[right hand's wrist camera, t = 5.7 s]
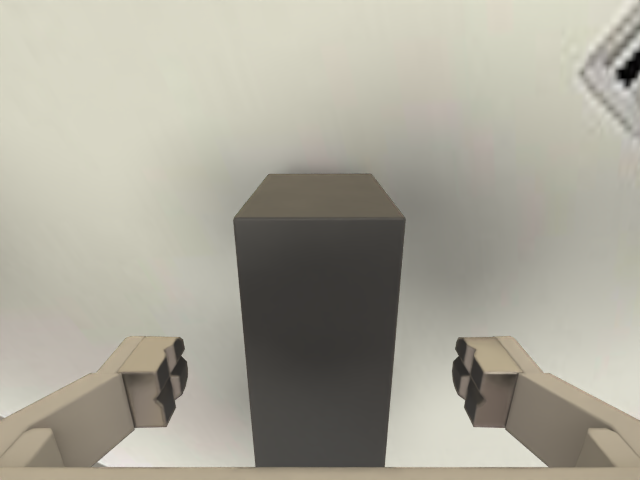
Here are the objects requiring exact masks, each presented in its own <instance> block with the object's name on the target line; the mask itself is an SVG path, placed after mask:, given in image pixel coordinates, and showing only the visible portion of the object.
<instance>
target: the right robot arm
mask: <svg viewBox="0 0 640 480" xmlns="http://www.w3.org/2000/svg"><path fill="white" fill-rule="evenodd" d="M184 350H185V348H184V343H183V339H182V338H180V337H156V336H147V337H146V336H130V337H127V338H126V339H125V340H124V341H123V342H122V343H121V344H120V345H119V347H118V348H117V349H116V350H115V351H114V353H113V354H112V355H111V356H110V357H109V358H108V360H107V361H106V362H105V363H104V364H103V365H102V367H101V368H100V369H99V370H98V371H97V373H90V374H88V375H86V376H84V377H82V378H80V379H78V380H77V381H75V382H73V383H71V384H69V385H67V386H65V387H63V388H61V389H59V390H57V391H55V392H54V393H52V394H50V395H48V396H46V397H44V398H42V399H40V400H38V401H36V402H34V403H33V404H31V405H29V406H27V407H25V408H23V409H21V410H19V411H17V412H15V413H13V414H12V415H10V416H8V417H6V418H4V419H2V420H0V480H640V420H638V419H636V418H634V417H632V416H630V415H628V414H626V413H624V412H623V411H621V410H619V409H617V408H615V407H613V406H611V405H609V404H607V403H605V402H603V401H602V400H600V399H598V398H596V397H594V396H592V395H590V394H588V393H586V392H584V391H583V390H581V389H579V388H577V387H575V386H573V385H571V384H569V383H567V382H565V381H563V380H562V379H560V378H558V377H556V376H554V375H552V374H550V373H543V371H542V370H541V369H540V368H539V367H538V365H537V364H536V363H535V362H534V361H533V360H532V358H531V357H530V356H529V355H528V354H527V353H526V351H525V350H524V349H523V348H522V347H521V346H520V344H519V343H518V342H517V341H516V340H515V338H513V337H511V336H495V337H459V338H458V340H457V342H456V347H455V350H456V351H457V353H458V355H459V356H458V357H457V358H456V359H455V360H454V361H453V367H452V376H453V383H454V386H455V389H456V391H457V394H458V395H459V396H460V397H462V398H463V399H464V400H465V405H464V408H465V410H466V412H467V414H468V416H469V418H470V420H471V423H472V425H473V427H493V428H505V430H507V431H508V432H509V433H510V434H511V435H512V436H514V437H515V438H516V439H517V440H518V441H519V442H520V443H522V444H523V445H524V446H525V447H526V448H527V449H529V450H530V451H531V452H532V453H533V454H534V455H535V456H537V457H538V458H539V459H540V460H541V461H542V462H544V463H545V464H546V465H547V466H548V467H92V466H93V465H94V464H95V463H97V462H98V461H99V460H100V459H101V458H102V457H103V456H105V455H106V454H107V453H108V452H109V451H110V450H112V449H113V448H114V447H115V446H116V445H117V444H119V443H120V442H121V441H122V440H123V439H124V438H125V437H127V436H128V435H129V434H130V433H131V432H132V431H134V430H135V429H134V428H147V427H167V425H168V423H169V421H170V418H171V416H172V414H173V412H174V410H175V408H176V405H175V400H176V399H177V398H178V397H180V396H181V395H182V394H183V391H184V389H185V387H186V382H187V378H188V367H187V361H186V360H185V359H184V358H183V357H182V356H181V355H182V353H183V351H184Z"/></svg>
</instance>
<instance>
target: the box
mask: <svg viewBox="0 0 640 480" xmlns="http://www.w3.org/2000/svg"><path fill="white" fill-rule="evenodd" d="M405 220H406V219H405V217H404V216H403V215H402V213H401V212H400V211H399V209H398V208H397V207H396V205H395V204H394V203H393V201H392V200H391V199H390V198H389V196H388V195H387V194H386V192H385V191H384V190H383V188H382V187H381V186H380V184H379V183H378V182H377V180H376V179H375V178H374V177H373V175H372V174H268V176H267V177H266V178H265V179H264V181H263V182H262V183H261V184H260V186H259V187H258V188H257V189H256V191H255V192H254V193H253V194H252V196H251V197H250V198H249V199H248V201H247V202H246V203H245V205H244V206H243V207H242V208H241V210H240V211H239V212H238V213H237V215H236V216H235V217H234V219H233V222H234V233H235V244H236V255H237V266H238V277H239V288H240V299H241V311H242V322H243V333H244V344H245V355H246V366H247V377H248V388H249V399H250V410H251V421H252V432H253V444H254V455H255V466H256V467H385V456H386V444H387V432H388V421H389V409H390V397H391V385H392V373H393V361H394V350H395V338H396V326H397V314H398V302H399V291H400V279H401V267H402V255H403V243H404V231H405Z"/></svg>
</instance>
